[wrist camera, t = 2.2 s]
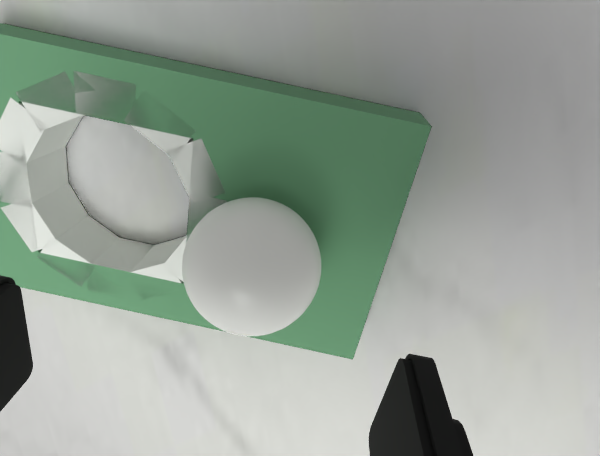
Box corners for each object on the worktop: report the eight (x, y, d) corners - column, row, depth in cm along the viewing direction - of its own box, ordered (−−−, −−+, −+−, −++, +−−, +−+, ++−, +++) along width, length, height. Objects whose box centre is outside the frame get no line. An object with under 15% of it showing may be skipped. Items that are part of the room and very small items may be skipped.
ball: (336, 193, 15) (333, 257, 11) (311, 294, 17) (300, 381, 13) (212, 166, 15) (160, 220, 11) (202, 270, 17) (156, 350, 13)
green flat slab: (419, 112, 16) (431, 126, 14) (352, 324, 21) (352, 359, 19) (2, 23, 16) (-52, 22, 14) (33, 255, 21) (-3, 281, 19)
